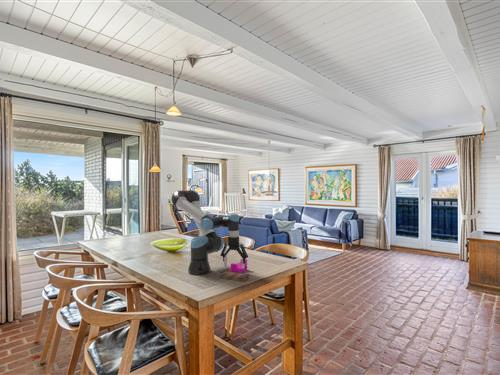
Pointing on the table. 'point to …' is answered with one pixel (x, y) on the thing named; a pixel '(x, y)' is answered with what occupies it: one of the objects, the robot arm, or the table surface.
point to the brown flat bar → (234, 276)
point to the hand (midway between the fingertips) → (234, 267)
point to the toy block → (238, 267)
